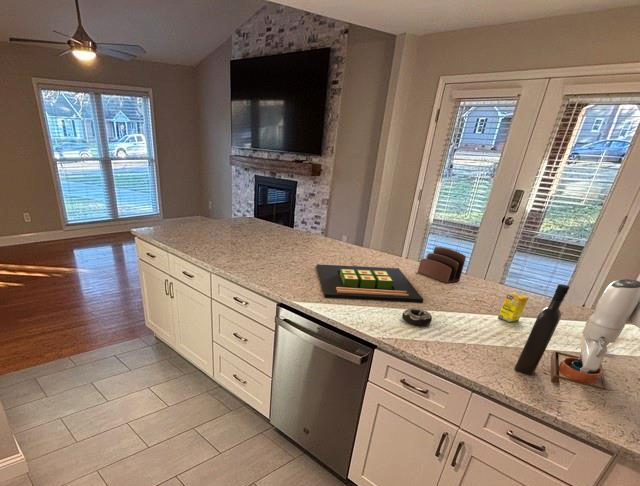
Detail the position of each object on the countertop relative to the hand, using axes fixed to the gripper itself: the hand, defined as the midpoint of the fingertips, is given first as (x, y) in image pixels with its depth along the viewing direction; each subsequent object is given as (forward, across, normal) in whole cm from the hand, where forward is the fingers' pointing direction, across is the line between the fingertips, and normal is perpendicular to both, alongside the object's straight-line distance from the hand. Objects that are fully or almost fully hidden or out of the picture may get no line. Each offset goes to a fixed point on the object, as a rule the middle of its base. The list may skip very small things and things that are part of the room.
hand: (580, 369), depth 136 cm
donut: (+4, +15, +56) cm, 58 cm away
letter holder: (+4, +82, +60) cm, 102 cm away
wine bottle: (+4, -4, +15) cm, 16 cm away
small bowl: (+3, 0, 0) cm, 3 cm away
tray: (+4, +3, 0) cm, 5 cm away
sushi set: (+4, +47, +89) cm, 101 cm away
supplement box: (+4, +41, +23) cm, 47 cm away
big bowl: (+4, 0, 0) cm, 4 cm away
